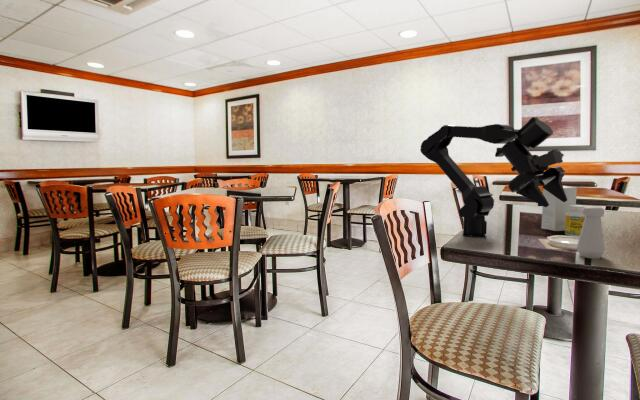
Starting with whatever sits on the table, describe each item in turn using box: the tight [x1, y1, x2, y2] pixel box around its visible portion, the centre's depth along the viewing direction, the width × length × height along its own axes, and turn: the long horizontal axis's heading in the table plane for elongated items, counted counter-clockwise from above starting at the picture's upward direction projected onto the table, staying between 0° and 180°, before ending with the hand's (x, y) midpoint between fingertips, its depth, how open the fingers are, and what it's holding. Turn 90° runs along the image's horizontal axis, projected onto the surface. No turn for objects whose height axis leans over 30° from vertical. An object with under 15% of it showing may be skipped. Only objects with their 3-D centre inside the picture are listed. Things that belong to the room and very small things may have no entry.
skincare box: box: [540, 185, 578, 232], centre depth 124 cm, size 8×6×15 cm
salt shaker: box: [576, 205, 606, 260], centre depth 92 cm, size 6×6×13 cm
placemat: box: [537, 238, 608, 253], centre depth 104 cm, size 14×12×1 cm
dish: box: [546, 234, 580, 251], centre depth 104 cm, size 11×11×2 cm
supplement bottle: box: [564, 204, 585, 237], centre depth 116 cm, size 5×5×10 cm
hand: (556, 203), depth 99 cm, fingers open, 9 cm apart
